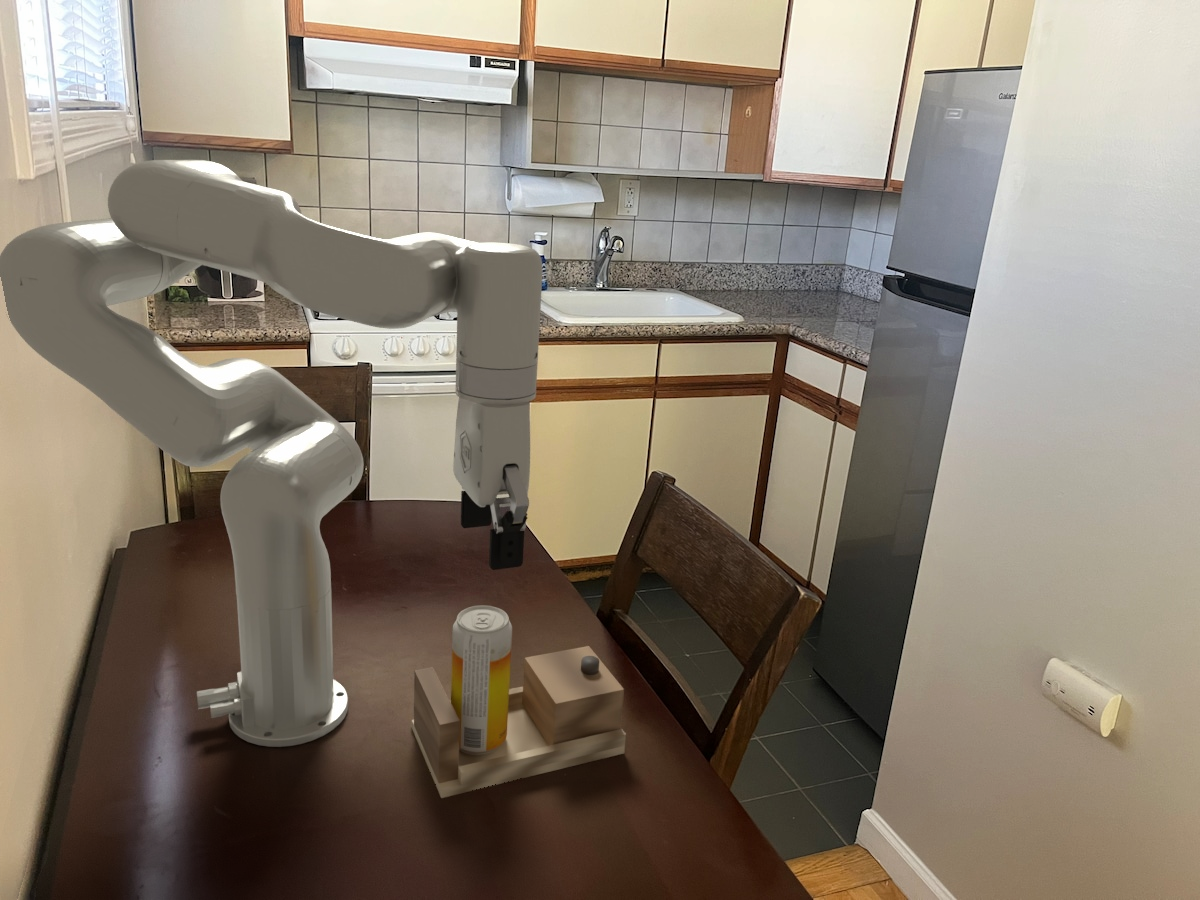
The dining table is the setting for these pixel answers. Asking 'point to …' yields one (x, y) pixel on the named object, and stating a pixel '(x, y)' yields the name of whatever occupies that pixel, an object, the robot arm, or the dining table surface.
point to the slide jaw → (571, 695)
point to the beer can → (481, 677)
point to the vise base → (511, 759)
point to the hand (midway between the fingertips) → (490, 545)
